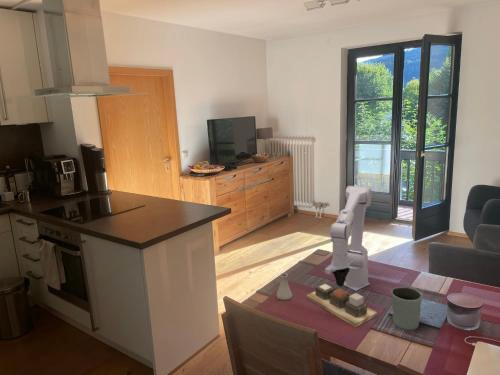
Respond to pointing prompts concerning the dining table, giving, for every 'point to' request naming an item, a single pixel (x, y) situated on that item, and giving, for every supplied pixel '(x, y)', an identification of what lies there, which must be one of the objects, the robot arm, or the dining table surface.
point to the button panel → (341, 306)
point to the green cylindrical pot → (406, 307)
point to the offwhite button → (325, 287)
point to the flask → (284, 289)
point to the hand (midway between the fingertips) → (340, 285)
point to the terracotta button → (340, 293)
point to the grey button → (356, 300)
